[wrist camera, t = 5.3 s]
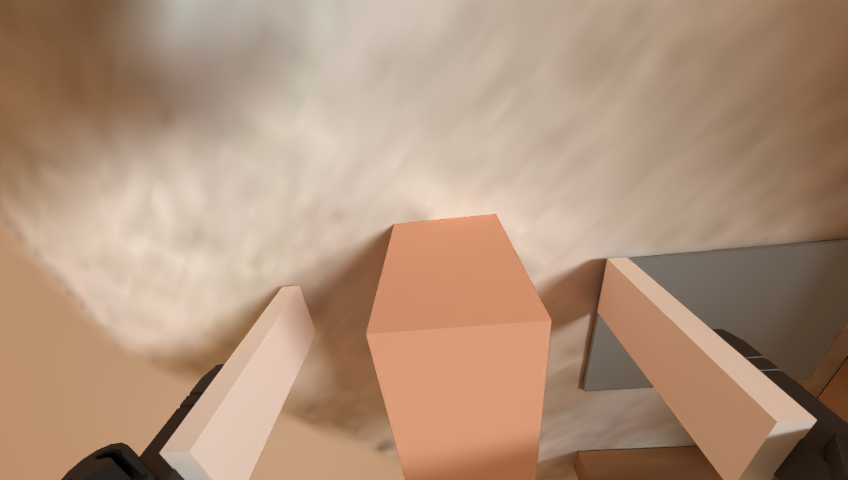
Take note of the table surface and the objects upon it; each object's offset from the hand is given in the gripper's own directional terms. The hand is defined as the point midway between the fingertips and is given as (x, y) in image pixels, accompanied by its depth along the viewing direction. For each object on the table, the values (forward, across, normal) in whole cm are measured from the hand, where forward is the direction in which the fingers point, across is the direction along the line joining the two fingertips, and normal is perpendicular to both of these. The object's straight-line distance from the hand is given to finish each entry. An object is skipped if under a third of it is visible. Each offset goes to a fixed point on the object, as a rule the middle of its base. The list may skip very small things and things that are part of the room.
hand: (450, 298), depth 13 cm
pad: (0, +12, -3) cm, 12 cm away
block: (+1, 0, 0) cm, 1 cm away
